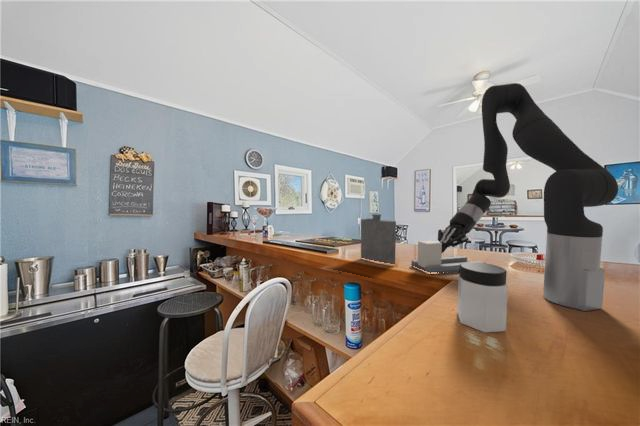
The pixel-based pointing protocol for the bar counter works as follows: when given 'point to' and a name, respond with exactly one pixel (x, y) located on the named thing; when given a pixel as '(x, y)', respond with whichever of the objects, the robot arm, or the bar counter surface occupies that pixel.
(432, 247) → the block
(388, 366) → the bar counter surface
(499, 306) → the jar
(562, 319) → the bar counter surface
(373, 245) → the hip flask
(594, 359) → the bar counter surface
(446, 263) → the chute
